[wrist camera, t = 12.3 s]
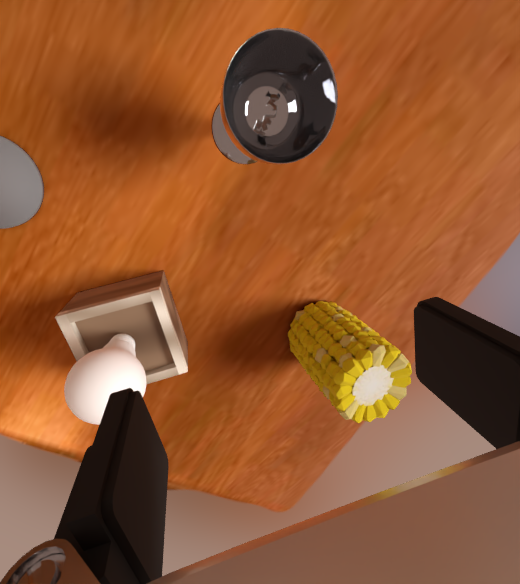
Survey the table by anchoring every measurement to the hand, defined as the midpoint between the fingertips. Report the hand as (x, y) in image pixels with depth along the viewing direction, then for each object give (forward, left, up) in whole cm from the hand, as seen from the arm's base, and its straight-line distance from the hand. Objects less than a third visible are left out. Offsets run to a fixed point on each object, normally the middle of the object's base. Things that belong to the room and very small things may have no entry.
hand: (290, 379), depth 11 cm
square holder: (+8, -12, -30) cm, 34 cm away
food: (+17, +11, -31) cm, 37 cm away
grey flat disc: (-10, -20, -30) cm, 38 cm away
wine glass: (-10, +6, -31) cm, 33 cm away
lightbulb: (+8, -12, -24) cm, 29 cm away
